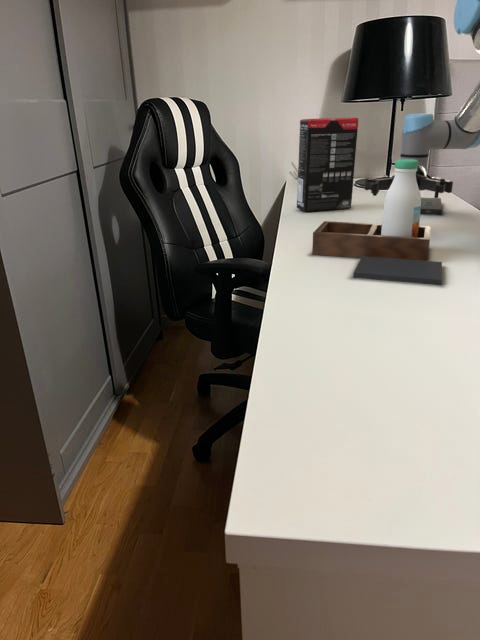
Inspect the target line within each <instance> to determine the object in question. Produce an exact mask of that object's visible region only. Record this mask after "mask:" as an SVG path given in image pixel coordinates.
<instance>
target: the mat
mask: <svg viewBox="0 0 480 640" xmlns="http://www.w3.org/2000/svg"><path fill="white" fill-rule="evenodd" d="M352 276H353V278H357V279H368V280H380V281H391V282H392V281H393V282H402V283H414V284H425V285H426V284H427V285H438V286H442V284H443V262H442V261H437V260H436V261H435V260H427V261H423V260H409V259H395V258H381V257H367V256H362V257H361V258H359V261H358V263H357V265H356V267H355V269H354V270H353V275H352Z"/></svg>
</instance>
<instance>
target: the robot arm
mask: <svg viewBox="0 0 480 640" xmlns="http://www.w3.org/2000/svg"><path fill="white" fill-rule="evenodd" d="M453 27H454V31H455V32H456V34H458V35H461V36H463V37H467V36H470V37H471V40H472V44H473V46H474V49H475V51H476V52H477V53H479V54H480V0H456V2H455V7H454V13H453ZM400 146H401V147H400V156H399V160H400V159H414V160H418V167H417V171H416V181H417V185H418V188H419V191H420V192H421V191H429V192H434V198H439V194H443V193H447V194H452V192H453V185H454V181H452V180H449V179H446V178H441V177H439V176H437V175H434V176H433V177H431V178H428V177H427V175H428V165H429V157H430V151H435V150H467V149H474V148H478V147H479V146H480V80H478V82H477V84H476V85H475V87H474V88H473V90H472V92H471V93H470V95H468V97H467V99H466V100H465V102H464V104H462V106H461V108H460V109H459V111H458V112H457V114H456V115H455V116H454V118H453V119H446V120H443V119H441V120H440V119H439V120H436V119H435V120H434V114H433V113H408V114H407V115H406V116H405V117H404V121H403V125H402V130H401V145H400ZM394 177H395V174H393V175H392V176H391V177H389V176H388V175H387V174H383V175H379V176H375V177H370V178H365V179H364V190H365V191H370V192H371V194H372V196H373V197H377V195H378V194H379V192H380V191H383V190H389V188H390V186H391V184H392V182H393V180H394Z"/></svg>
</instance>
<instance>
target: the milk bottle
mask: <svg viewBox="0 0 480 640" xmlns="http://www.w3.org/2000/svg"><path fill="white" fill-rule="evenodd" d="M417 167H418V160H414V159H400V158H399V159H396V160H395V161H394V175H395V177H394V180H393V182H392V184H391V186H390V188H389V189H387V192H386V194H385V198H384V201H383V202H384V203H383V211H382V221H381V222H382V223H381V224H382V230H381V235H382V236H400V237H418V229H419V226H420V218H421V214H420V210H421V198H422V195H421V191H419V188H418V185H417V181H416V171H417Z"/></svg>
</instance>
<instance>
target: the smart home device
mask: <svg viewBox="0 0 480 640" xmlns="http://www.w3.org/2000/svg"><path fill="white" fill-rule="evenodd" d="M442 213H443V206H442V198H440V197H438V198H435V197H421V210H420V215H440V216H441V215H442Z"/></svg>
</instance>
